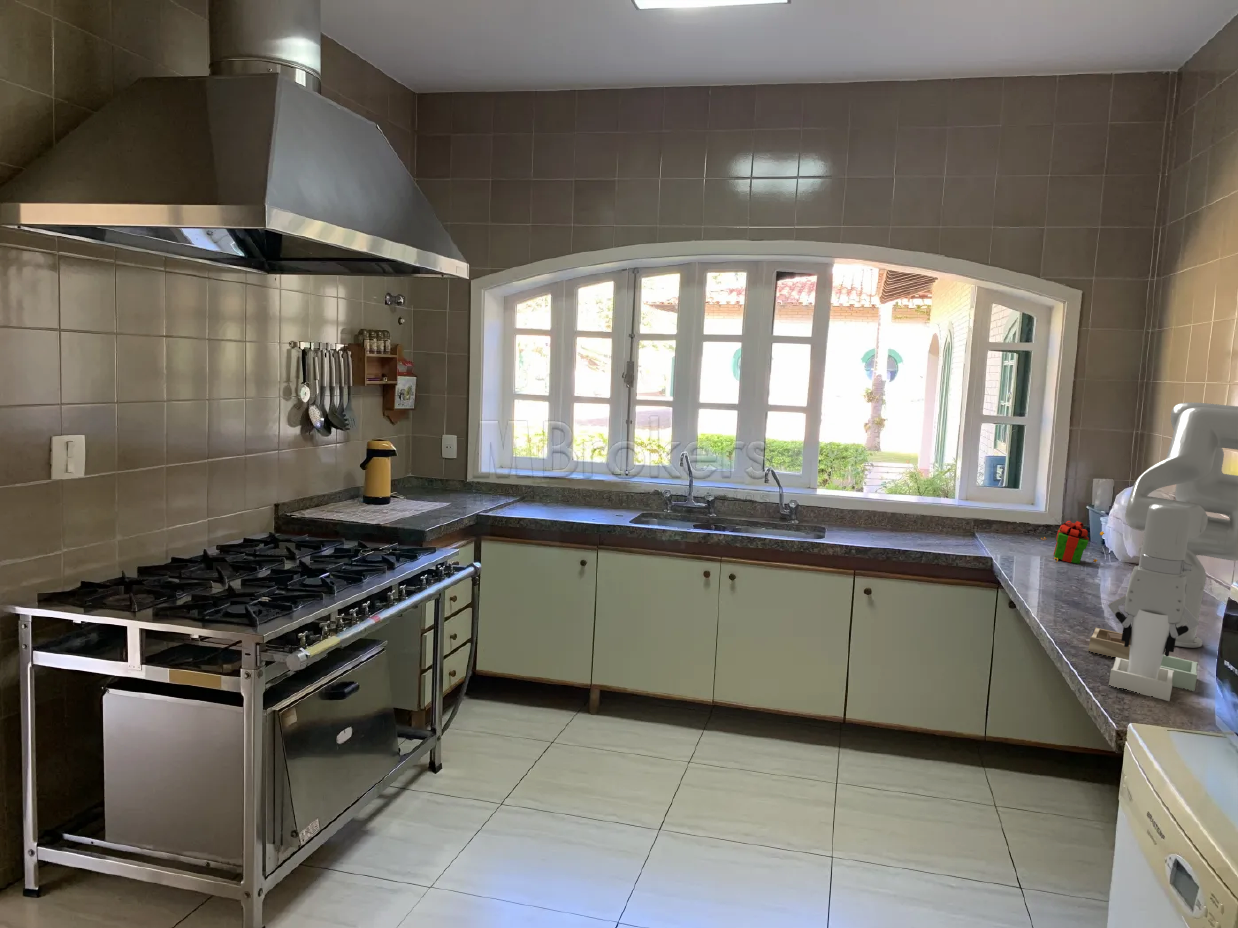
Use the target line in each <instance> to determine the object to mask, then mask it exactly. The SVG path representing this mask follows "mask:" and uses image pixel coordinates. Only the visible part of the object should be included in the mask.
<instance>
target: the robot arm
mask: <svg viewBox="0 0 1238 928" xmlns="http://www.w3.org/2000/svg"><path fill="white" fill-rule="evenodd" d="M1170 423H1171V427H1172V430H1173V433H1172V436H1171V440H1170V444H1169V448H1168V450H1167V454H1166V457H1165V459H1164V460H1161V461H1159V462H1156V463H1155V464H1153V465H1152V466H1150V467H1148V469H1146V470H1145V471H1144V472H1142V474H1140V476H1138V478H1137V479H1136V480H1135V482H1134V484H1133V486H1132V489H1131V491H1130V494H1129V498H1128V502H1127V505H1126V507H1125V508H1126V509H1125V516H1124V517H1125V518H1124V519H1125V522H1126V524H1127V526H1128V527H1129V528H1131V529H1132V530H1136V531H1139V532H1143V537H1142V543H1141V549H1140V555H1139V562H1138V565H1135V566H1134V567H1133V570H1132V571H1131V575H1130V578H1129V581H1128V586H1127V590H1126V594H1124V595H1123V596H1121V597H1118V598H1116V599H1115V600H1113V601H1112V602H1109V604H1108V608H1109V609H1110V611H1111V612H1112V613H1113V615H1114V616H1115V618H1116V619H1117V620H1118V621H1119V623H1121V625H1122V632H1121V633H1122V639H1121V641H1124V642H1125V644H1124V647H1128V646H1129V642H1130V636H1131V626H1132V621H1133V620H1134V617H1135V616H1137V613H1138V611H1139V610H1143V611H1146V612H1149V613H1153V614H1159V615H1167V616H1168V623H1169V624H1170V628H1169V631H1170V634H1169V637H1168V638H1167V644H1166V649H1165V652H1164V655H1166V656H1168V657H1169V656H1170V653H1174V652H1175V647H1182V648H1190V649H1191V648H1192V649H1193V648H1201V647H1202V646H1203V640H1202V639H1201V638H1200V637H1198V636H1197V630H1198V626H1199V625H1200V623H1199V622H1200V621H1199V618H1200V613H1201V609H1202V601H1203V597H1204V592H1205V591H1204V590H1205V585H1206V580H1207V574H1206V569H1205V567H1204V566H1203V564H1202V563H1201V561H1200V560H1199V558H1198V557H1197V556H1202V557H1204V556H1205V557H1210V558H1214V559H1215V558H1216V559H1219V560H1220V559H1221V560H1226V561H1238V475H1237V474H1236V475H1235V474H1229V473H1228V474H1227V473H1223V471H1222V469H1223V463H1224V458H1225V452H1224V449H1229V450H1238V406H1237V405H1228V404H1226V405H1225V404H1218V403H1216V404H1215V403H1207V402H1204V403H1203V402H1180V403H1177V404H1175V406H1173V408H1172V409H1171V411H1170ZM1169 486H1175V496H1174V497H1175V500H1174V499H1169V498H1162V497H1157V496H1149V495H1150V494H1151V493H1153V492H1155V491H1157V490H1158V489H1161V488H1164V487H1169ZM1207 513H1211V514H1219V515H1225V516H1227V517H1228V518H1229V519H1227V518H1220V517H1215V516H1208V514H1207ZM1122 605H1124V607H1123V609H1124V612H1125V613H1126V614H1127V615H1125V614H1124V613H1123V612H1122V611H1121V610H1120V608H1119V607H1120V606H1122Z"/></svg>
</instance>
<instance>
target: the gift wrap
mask: <svg viewBox="0 0 1238 928" xmlns="http://www.w3.org/2000/svg"><path fill="white" fill-rule="evenodd" d="M1083 527H1084V523H1083V522H1081V521H1078V520H1076V521H1075V522H1072V521H1071V520H1067V521H1066V522H1063V523H1062V524H1061V525H1060V526H1059V528H1058V530H1057V534H1056V543H1055V547H1054V550H1053V557H1054V558H1053V560H1055V559H1056V561H1055V563H1057V562H1058V561H1059V560H1061V561H1062V562H1067V563H1070V564H1071V563H1072V564H1073V563H1074V564H1077V565H1079V564H1080V563H1081V559H1082V556H1083V554H1084V551H1085V550H1086V549H1087V547H1088V543H1089V539H1090V538H1089V537H1088V536H1089V535H1088V534H1089V533H1088V530H1087V529H1085V528H1083ZM1104 534H1106V533H1105V532H1104V531H1100V532H1099V536H1104ZM1040 539H1041V540H1042V541H1044V540H1048V539H1047V538H1046V537H1045V536H1044V537H1043V538H1042V537H1041V538H1040ZM1097 562H1098V559H1097V558H1095V559H1093V561H1092V563H1097Z"/></svg>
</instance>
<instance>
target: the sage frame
mask: <svg viewBox="0 0 1238 928" xmlns="http://www.w3.org/2000/svg"><path fill="white" fill-rule="evenodd" d="M1160 668H1164V669H1169V670H1173V671H1174V675H1173V681H1172V683H1173V684H1172V687H1174V688H1179V689H1183V688H1185V689H1184V690H1187V689H1189V690H1188V691H1191V690H1192V692H1195V689H1196V686H1197V680H1198V673H1197V671H1198V661H1192V660H1188V659H1185V658H1179V657H1176V656H1171V655H1169V657H1168V656H1166V655H1165V654H1164V656H1163V659H1162V663H1161V666H1160Z"/></svg>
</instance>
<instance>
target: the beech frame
mask: <svg viewBox="0 0 1238 928" xmlns="http://www.w3.org/2000/svg"><path fill="white" fill-rule="evenodd" d="M1107 633H1114V634H1120V635H1122V633H1123V632H1118V631H1113V630H1109V629H1105V628H1104V629H1103V628H1099V627H1095V628H1094V631H1093V634H1092V636H1090V637H1089V645H1088V651H1091V652H1094V653H1093V654H1095V653H1099V654H1103V655H1107V656H1106V657H1108V656H1111V657H1110V658H1112V657H1118V658H1122V659H1126V660H1129V652H1130V645H1129V646H1128V647H1124V644H1122V643H1118V642H1113V641H1109V640H1106V639H1107ZM1130 638H1131V636H1130ZM1088 651H1087V652H1088ZM1091 652H1090V653H1091ZM1099 654H1098V655H1099ZM1103 655H1102V656H1103Z"/></svg>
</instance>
